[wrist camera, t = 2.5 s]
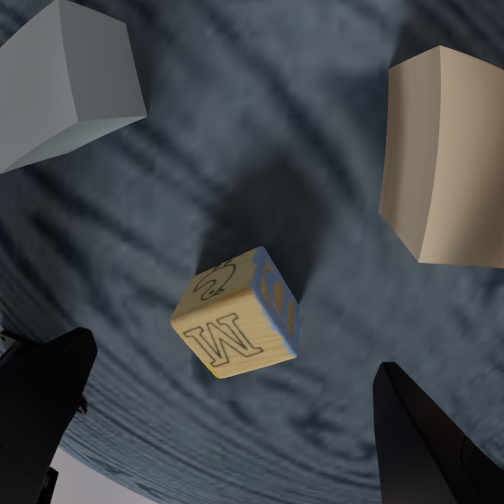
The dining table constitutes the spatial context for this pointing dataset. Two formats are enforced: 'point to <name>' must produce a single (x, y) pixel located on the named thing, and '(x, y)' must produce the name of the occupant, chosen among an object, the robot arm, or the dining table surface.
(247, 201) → the dining table surface
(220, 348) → the alphabet block
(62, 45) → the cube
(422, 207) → the beech block
